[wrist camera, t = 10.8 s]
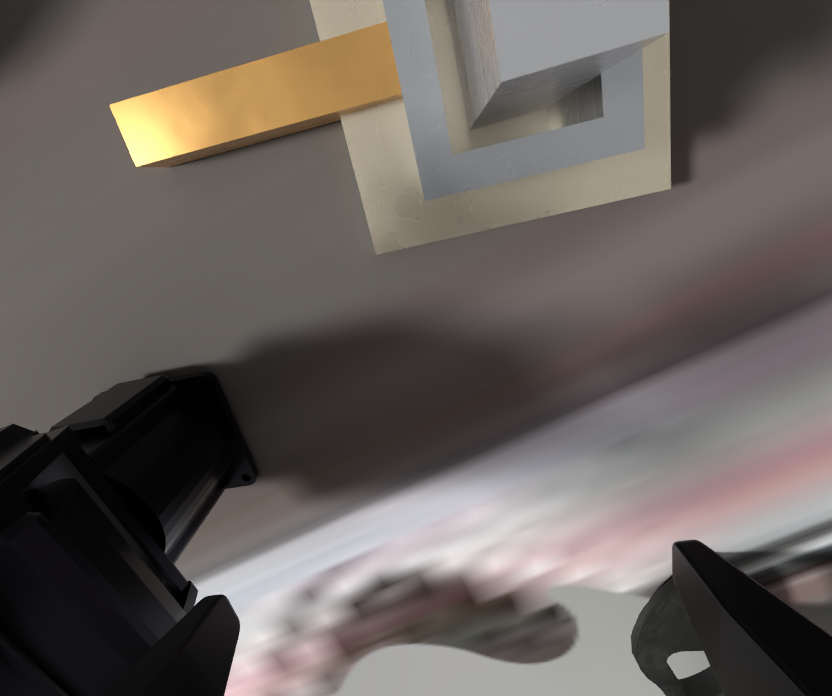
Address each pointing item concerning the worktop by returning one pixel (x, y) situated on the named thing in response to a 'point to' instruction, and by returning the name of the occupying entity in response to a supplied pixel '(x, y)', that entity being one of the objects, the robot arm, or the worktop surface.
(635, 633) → the holder
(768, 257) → the worktop surface
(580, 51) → the grey rectangular block
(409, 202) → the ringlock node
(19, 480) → the robot arm
